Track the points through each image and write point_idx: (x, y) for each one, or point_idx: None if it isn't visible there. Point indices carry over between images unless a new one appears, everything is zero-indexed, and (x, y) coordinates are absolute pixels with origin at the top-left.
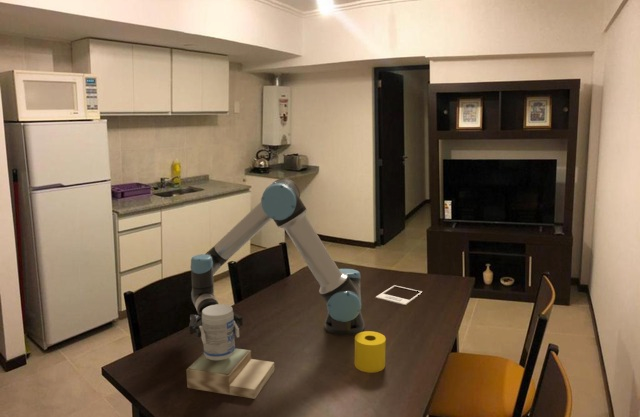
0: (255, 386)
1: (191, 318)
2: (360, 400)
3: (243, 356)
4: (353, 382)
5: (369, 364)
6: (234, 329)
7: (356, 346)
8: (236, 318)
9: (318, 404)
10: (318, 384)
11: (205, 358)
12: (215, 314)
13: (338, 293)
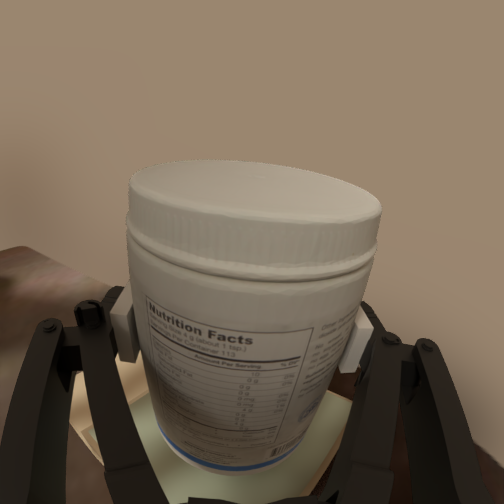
0: None
1: (473, 455)
2: (39, 273)
3: (131, 403)
4: (3, 297)
5: None
6: None
7: None
8: (89, 303)
9: (85, 289)
10: (38, 320)
11: (293, 452)
12: (278, 167)
13: None
